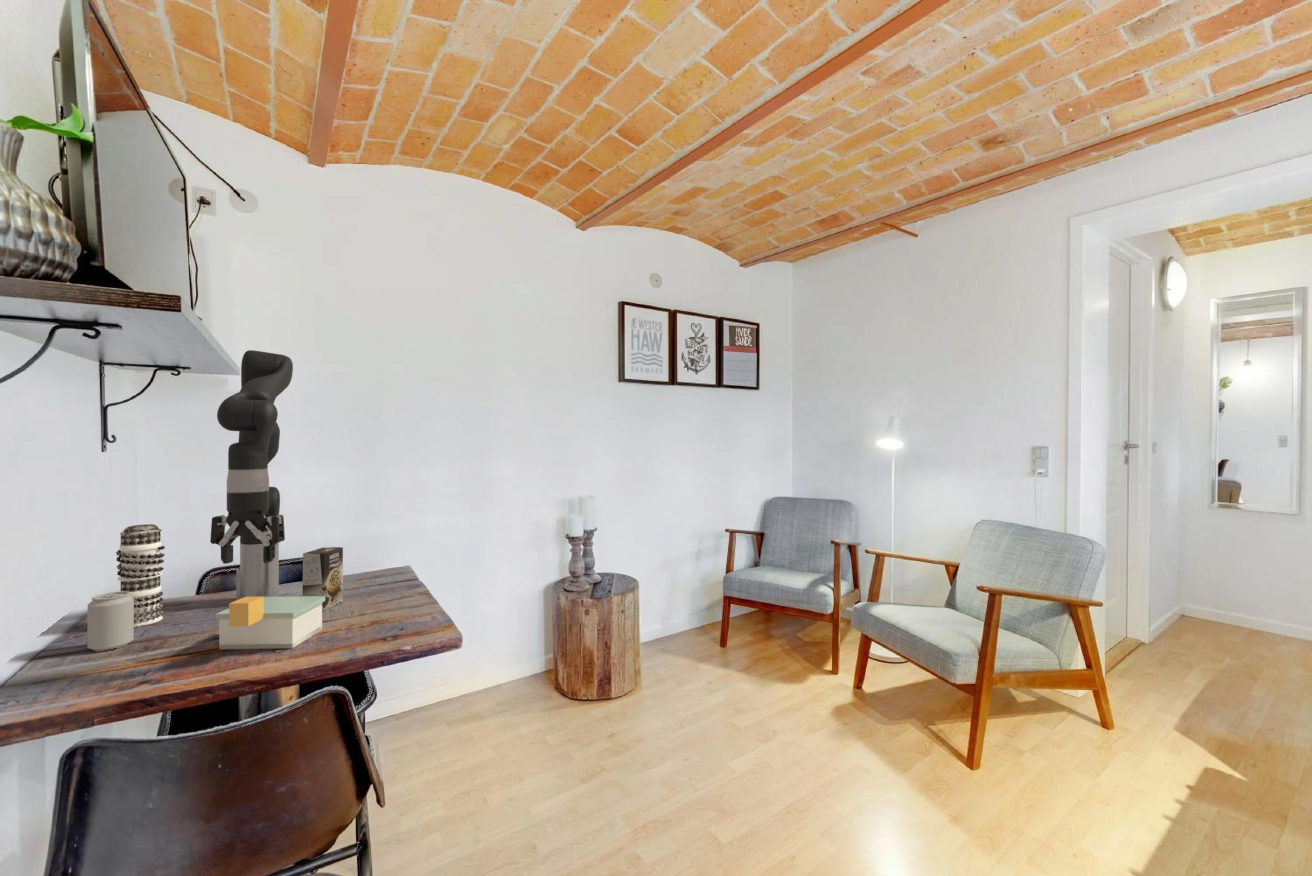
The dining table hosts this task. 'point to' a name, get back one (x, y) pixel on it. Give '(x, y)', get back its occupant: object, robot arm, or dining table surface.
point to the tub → (271, 631)
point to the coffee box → (324, 575)
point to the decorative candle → (142, 571)
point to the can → (110, 620)
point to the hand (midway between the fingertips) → (248, 562)
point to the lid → (267, 608)
